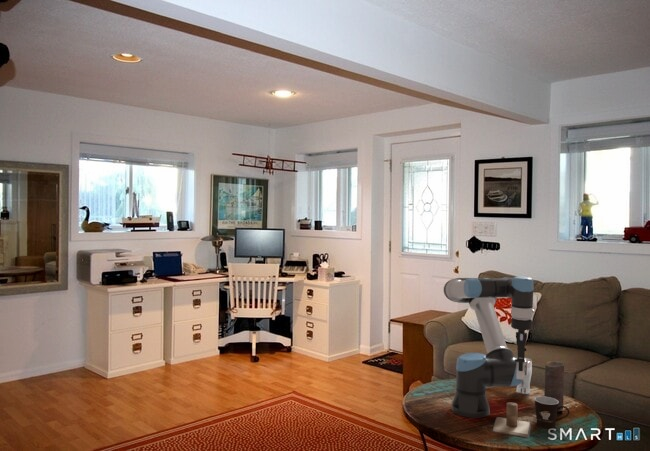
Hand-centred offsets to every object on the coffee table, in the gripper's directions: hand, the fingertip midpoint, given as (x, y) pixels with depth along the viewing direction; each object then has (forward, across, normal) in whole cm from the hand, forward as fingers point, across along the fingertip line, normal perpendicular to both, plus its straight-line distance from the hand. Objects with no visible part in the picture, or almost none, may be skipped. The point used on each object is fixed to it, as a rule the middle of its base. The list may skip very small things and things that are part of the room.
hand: (520, 373), depth 200 cm
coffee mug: (+21, +4, -11) cm, 24 cm away
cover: (+20, -3, +3) cm, 21 cm away
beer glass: (+22, +42, -2) cm, 47 cm away
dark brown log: (+21, +23, -13) cm, 34 cm away
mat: (+21, -3, +3) cm, 21 cm away
